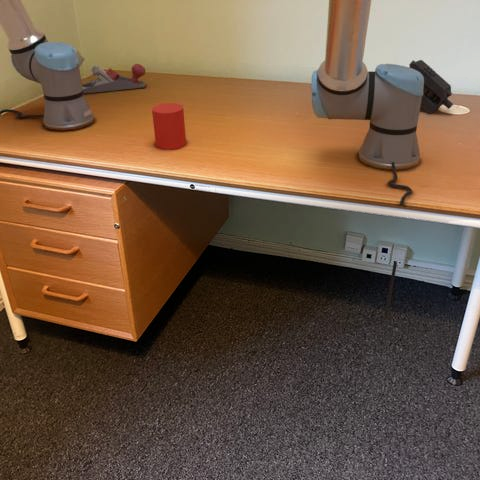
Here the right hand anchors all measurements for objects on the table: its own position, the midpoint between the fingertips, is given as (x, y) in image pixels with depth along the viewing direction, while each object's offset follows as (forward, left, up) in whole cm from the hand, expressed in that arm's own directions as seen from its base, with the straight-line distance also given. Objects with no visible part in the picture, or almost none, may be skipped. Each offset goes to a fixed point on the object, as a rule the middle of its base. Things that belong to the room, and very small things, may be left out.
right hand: (346, 1), depth 145 cm
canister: (-13, +50, -34) cm, 62 cm away
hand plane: (+44, +78, -34) cm, 96 cm away
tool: (+11, -29, -34) cm, 46 cm away
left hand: (+40, +67, +6) cm, 78 cm away
